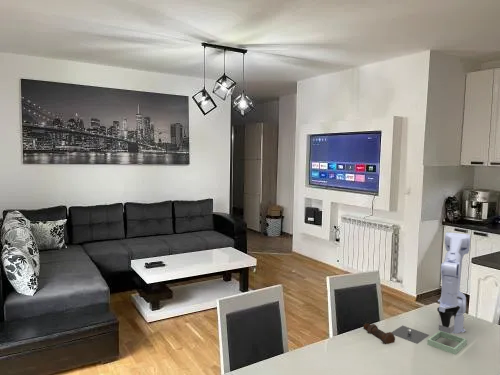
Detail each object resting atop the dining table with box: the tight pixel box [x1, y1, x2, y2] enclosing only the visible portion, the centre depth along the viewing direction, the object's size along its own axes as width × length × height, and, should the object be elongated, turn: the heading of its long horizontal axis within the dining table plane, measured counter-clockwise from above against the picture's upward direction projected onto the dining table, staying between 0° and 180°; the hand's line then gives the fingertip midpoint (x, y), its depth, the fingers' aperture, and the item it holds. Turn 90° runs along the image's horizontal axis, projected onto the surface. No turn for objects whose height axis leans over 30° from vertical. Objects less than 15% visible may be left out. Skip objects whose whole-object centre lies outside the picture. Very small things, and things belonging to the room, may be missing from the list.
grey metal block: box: [438, 313, 454, 334], centre depth 148 cm, size 4×4×6 cm
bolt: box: [363, 322, 396, 345], centre depth 156 cm, size 6×5×15 cm
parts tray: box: [426, 330, 468, 355], centre depth 148 cm, size 12×10×3 cm
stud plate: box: [390, 325, 430, 345], centre depth 157 cm, size 12×12×3 cm
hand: (447, 324), depth 148 cm, fingers closed on grey metal block, 4 cm apart
